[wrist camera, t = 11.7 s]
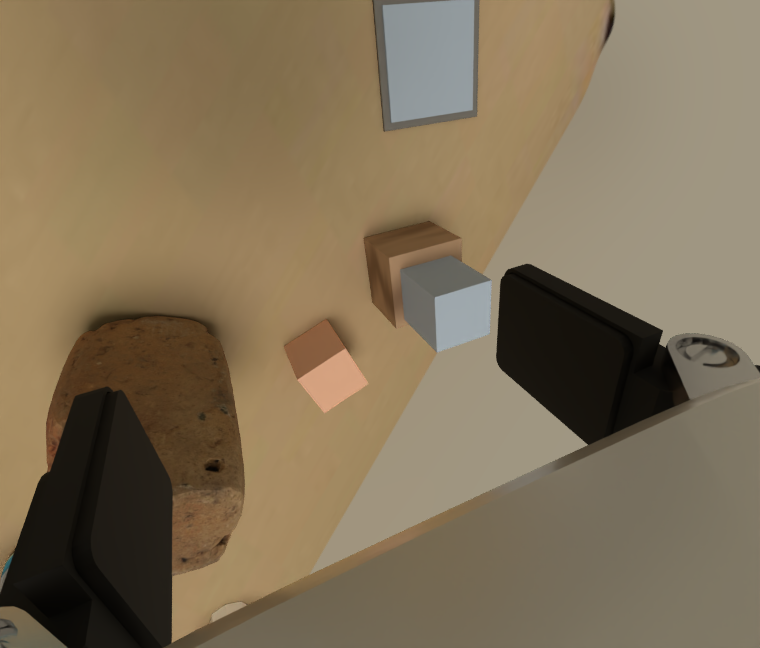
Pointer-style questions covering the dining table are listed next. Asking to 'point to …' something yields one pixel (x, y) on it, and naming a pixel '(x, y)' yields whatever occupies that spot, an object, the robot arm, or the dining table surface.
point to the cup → (226, 610)
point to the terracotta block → (324, 366)
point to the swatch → (427, 60)
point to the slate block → (446, 302)
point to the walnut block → (403, 261)
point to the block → (169, 420)
